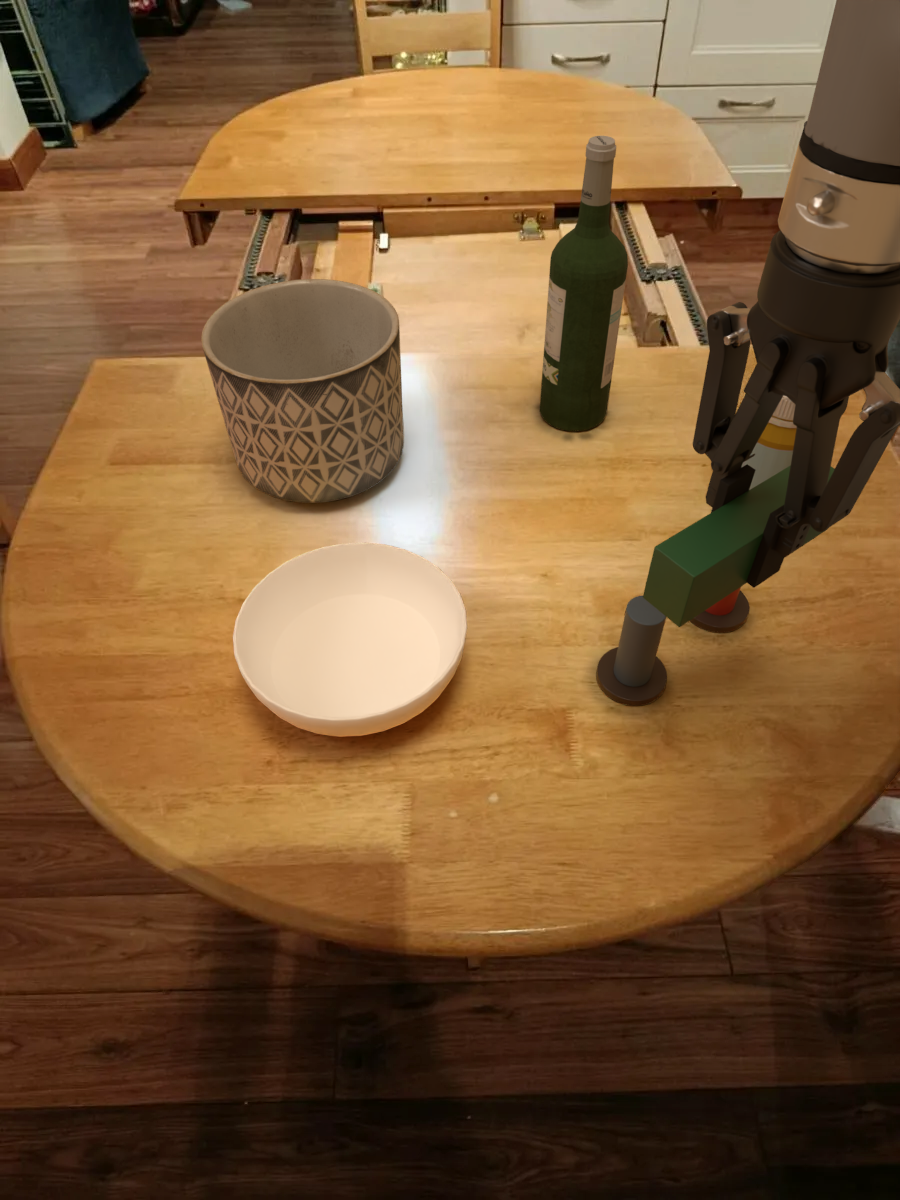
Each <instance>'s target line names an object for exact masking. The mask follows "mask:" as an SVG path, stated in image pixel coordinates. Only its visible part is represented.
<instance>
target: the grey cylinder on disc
mask: <svg viewBox="0 0 900 1200" xmlns="http://www.w3.org/2000/svg"><path fill="white" fill-rule="evenodd" d="M666 620H667V617H666V616H665V615H664V614H662V613H661V612H660V611H659V610H657V609H656V608H655V607H654V606H653V605H651V604H650V603H649V602H648V601H647V600H645V599H644V598H643V594H642V595H637V596H635V597H633V598H631V599H629V601H628V602H627V603H626V607H625V612H624V617H623V620H622V621H623V622H622V627H621V631H620V636H619V641H618V645H617V646H615V647H614V648H611V649H609V650H608V651H606V652H605V653H603V655H601V657H600V659H599V660H598V662H597V665H596V666H597V667H596V673H595V677H596V681H597V684H598V686H599V688H600V689H601V691H602V692H603V693H604V694H605V695H606V696H607V697H608V698H610V699H611V700H613V701H614V702H616V703H619V704H621V705H626V706H632V707H639V706H645V705H648V704H649V705H650V704H651V703H653V702H655V701H657V699H659V698H660V697H661V695H663V693H664V691H665V689H666V685H667V682H668V673H667V668H666V666H665V664H664V663H663V662H662V660H661V659H660V658H659V657H658V656H657V654H658V651H659V647H660V643H661V639H662V635H663V632H664V629H665V628H664V627H665V624H666Z"/></svg>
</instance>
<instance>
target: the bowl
mask: <svg viewBox="0 0 900 1200" xmlns="http://www.w3.org/2000/svg"><path fill="white" fill-rule="evenodd" d="M467 617H468V616H467V609H466V607H465V603H464V600H463V598H462V595H461V592H460V591H459V589H458V588H457V587H456V585H455V583H454V582H453V580H452V579H451V578H450V577H449V576H448V575H447V574H446V573H445V572H444V571H443V570H442V569H441V568H440V567H439V566H437V565H435V564H434V563H433V562H431V561H429V560H428V559H427V558H425V557H423V556H421V555H419V554H417V553H415V552H413V551H410V550H408V549H406V548H401V547H397V546H394V545H390V544H387V543H386V544H385V543H377V542H375V543H374V542H367V541H365V542H363V541H362V542H343V543H337V544H333V545H325V546H322V547H319V548H316V549H312V550H308V551H306V552H303V553H301V554H299V555H296V556H294V557H292V558H291V559H289V560H287V561H284V562H283V563H282V564H279V566H277V567H275V568H274V569H273V570H271V571H270V572H269V573H267V574H266V575H265V576H264V577H263V578H262V579H261V580H260V581H259V582H258V583H257V584H256V585H254V587H253V588H252V589H251V591H250V592H249V594H248V595H247V597H246V598H245V600H244V601H243V602H242V604H241V607H240V609H239V611H238V613H237V616H236V618H235V622H234V627H233V628H234V629H233V633H232V647H233V656H234V660H235V662H236V664H237V667H238V669H239V673H240V674H241V676H242V678H243V679H244V682H245V683H246V685H247V686H248V688H249V689H250V690H251V692H252V694H253V695H254V696H255V697H256V699H257V700H258V701H259V702H260V703H261V704H263V705H264V706H265V707H266V708H267V709H268V710H270V711H271V712H272V713H273V714H274V715H276V716H277V717H278V718H280V719H281V720H283V721H285V722H286V723H289V724H290V725H292V726H294V727H296V728H298V729H301V730H304V731H308V732H311V733H314V734H317V735H323V736H330V737H342V738H343V737H362V736H367V735H371V734H376V733H380V732H381V733H382V732H385V731H387V730H390V729H392V728H395V727H398V726H400V725H402V724H405V723H406V722H407V723H408V721H410V720H412V719H413V718H415V717H416V716H418V715H420V714H422V713H423V712H424V711H425V710H426V709H428V708H429V707H430V706H431V705H432V704H433V703H434V702H435V701H436V700H438V698H439V697H440V696H441V694H442V693H443V692H444V691H445V689H446V688H447V687H448V686H449V684H450V682H451V680H452V679H453V678H454V676H455V674H456V671H457V669H458V667H459V666H460V663H461V661H462V658H463V653H464V648H465V644H466V638H467V633H468V618H467Z"/></svg>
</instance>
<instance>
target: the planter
mask: <svg viewBox="0 0 900 1200" xmlns="http://www.w3.org/2000/svg"><path fill="white" fill-rule="evenodd" d="M400 332H401V331H400V317H399V314H398V312H397V310H396V308H395V307H394V305H393V304H392V303H391V302H390V301H389V300H388V299H387V298H386V297H385V296H383V295H382V294H380V293H378V292H377V291H375V290H372V289H370V288H368V287H366V286H363V285H360V284H356V283H353V282H348V281H344V280H337V279H329V278H328V279H325V278H303V279H302V278H301V279H291V280H285V281H279V282H278V281H277V282H274V283H269V284H266V285H262V286H258V287H255V288H253V289H250V290H248V291H245V292H243V293H241V294H238V295H237V296H235V297H233V298H231V299H229V300H227V301H226V302H225V303H223V304H222V305H221V306H219V308H217V309H216V310H215V311H214V312H213V313H211V315H210V316H209V317H208V319H207V320H206V322H205V324H204V326H203V328H202V331H201V337H200V340H201V348H202V351H203V354H204V357H205V361H206V364H207V368H208V371H209V375H210V377H211V381H212V384H213V387H214V388H213V389H214V391H215V395H216V398H217V401H218V406H219V408H220V411H221V415H222V418H223V423H224V425H225V429H226V433H227V435H228V440H229V441H230V442H229V443H230V447H231V449H232V453H233V457H234V459H235V463H236V465H237V468H238V470H239V472H240V474H242V477H243V478H244V479H245V480H246V481H247V482H248V484H250V485H251V486H252V487H254V488H255V489H256V490H258V491H259V492H262V493H264V494H266V495H268V496H270V497H273V498H275V499H279V500H283V501H288V502H295V503H306V504H308V503H309V504H312V503H313V504H314V503H315V504H317V503H327V502H334V501H338V500H339V501H340V500H343V499H347V498H350V497H353V496H356V495H358V494H361V493H362V492H365V491H367V490H369V489H371V488H372V487H374V486H376V485H377V484H380V482H381V481H383V480H384V479H385V478H386V477H388V475H390V473H392V471H393V470H394V469H395V468H396V466H397V464H398V463H399V461H400V459H401V458H402V454H403V450H404V446H405V445H404V443H405V439H404V437H405V436H404V414H403V411H404V410H403V385H402V359H401V333H400Z"/></svg>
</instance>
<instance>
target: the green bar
mask: <svg viewBox="0 0 900 1200" xmlns="http://www.w3.org/2000/svg"><path fill="white" fill-rule="evenodd" d="M790 466H791V465H790ZM790 466H789V467H787V468H785V469H784V470H782V471H780V472H779V473H777V474H775V475H774V476H772V477H770V478H769V479H767V480H765V481H764V482H762V483H760V484H759V485H757V486H755V487H754V488H752V489H750V490H749V491H747V492H745V493H744V494H742V495H740V496H739V497H737V498H735V499H733V500H732V501H730V502H728V503H727V504H725V505H723V506H722V507H720V508H718V509H717V510H715V511H713V512H712V513H711V512H710V513H708V514H707V515H705V516H703V517H702V518H700V519H698V520H697V521H695V522H694V523H692V524H690V525H689V526H686V527H685V528H683V529H682V530H680V531H678V532H677V533H675V534H674V535H672V536H670V537H669V538H667V539H665V540H664V541H661V542H660V543H659V544H657V545H654V548H653V552H652V556H651V560H650V564H649V569H648V572H647V577H646V581H645V586H644V590H643V594H642V595H643V598H644V599H645V600H647V601H648V602H649V603H650V604H651V605H653V606H654V607H655V608H656V609H657V610H659V611H660V612H661V613H662V614H664V615H665V616H666V619H668V620H669V621H671V622H672V623H673V624H674V625H675V626H676V627H678V628H681V627H683V626H684V625H685V624H688V623H689V622H691V621H690V620H691V619H693V618H694V617H696V616H697V615H699V614H700V613H702V612H703V611H705V610H707V609H708V608H710V607H711V606H713V605H714V604H716V603H717V602H719V601H720V600H722V599H723V598H725V597H726V596H728V595H729V594H731V593H732V592H734V591H735V590H737V589H738V588H740V587H741V588H742V587H743V586H744V585H746V584H748V583H747V582H746V581H747V578H748V575H749V572H750V570H751V567H752V564H753V561H754V559H755V556H756V553H757V550H758V548H759V545H760V542H761V539H762V537H763V532H764V529H765V527H766V524H767V521H768V518H769V515H770V513H772V512H773V511H775V510H776V509H778V508H779V507H781V506H783V505H784V503H785V497H786V491H787V485H788V479H789V473H790ZM834 469H835V467H833V466H831V467H830V472H829V477H828V481H829V479H830V477H831V475H832V473H833V471H834ZM827 483H828V482H827ZM827 530H828V529H826V530H825V531H823V532H818V531H816V530H814V529H813V528H812V527H810V529H809V531H808V534H807V536H806V538H805V541H804V543H803V545H802V546H801V547H800V548H802V547H803V546H805V545H806V544H808V543H809V542H811V541H812V540H814V539H816V538H817V537H818V536H820V535H822V534H823V533H825V532H826V531H827ZM800 548H798V549H797V550H799V549H800ZM797 550H795V551H794V552H796V551H797ZM794 552H792V553H791V554H793V553H794ZM791 554H789V555H788V556H790V555H791ZM788 556H786V557H784V559H785V558H787V557H788Z"/></svg>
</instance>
